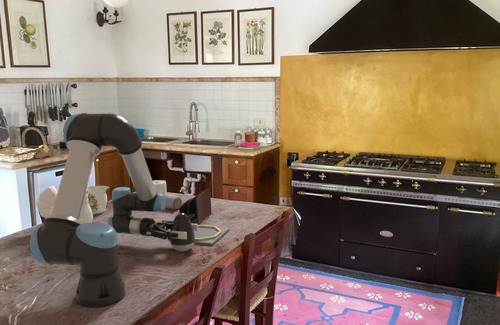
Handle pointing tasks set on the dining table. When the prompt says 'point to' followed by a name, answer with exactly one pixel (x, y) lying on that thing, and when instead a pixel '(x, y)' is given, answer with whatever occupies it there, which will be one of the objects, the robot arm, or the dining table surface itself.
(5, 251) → the dining table surface
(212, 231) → the dock plate
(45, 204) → the decorative rooster
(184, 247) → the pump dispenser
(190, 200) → the letter holder
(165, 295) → the dining table surface
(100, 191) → the pitcher
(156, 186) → the toilet tissue
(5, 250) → the dining table surface
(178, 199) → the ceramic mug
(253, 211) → the dining table surface
